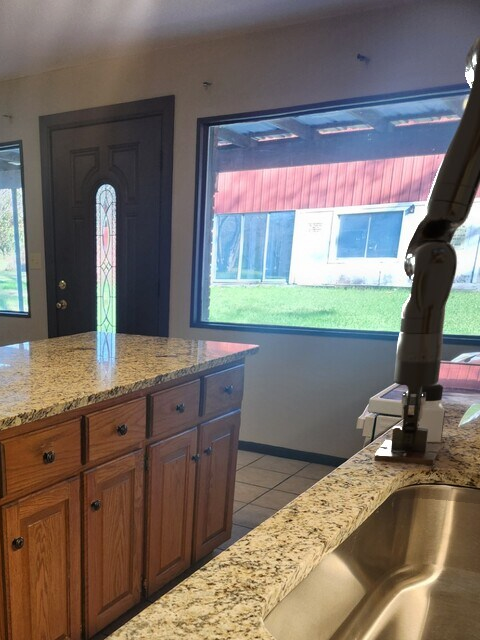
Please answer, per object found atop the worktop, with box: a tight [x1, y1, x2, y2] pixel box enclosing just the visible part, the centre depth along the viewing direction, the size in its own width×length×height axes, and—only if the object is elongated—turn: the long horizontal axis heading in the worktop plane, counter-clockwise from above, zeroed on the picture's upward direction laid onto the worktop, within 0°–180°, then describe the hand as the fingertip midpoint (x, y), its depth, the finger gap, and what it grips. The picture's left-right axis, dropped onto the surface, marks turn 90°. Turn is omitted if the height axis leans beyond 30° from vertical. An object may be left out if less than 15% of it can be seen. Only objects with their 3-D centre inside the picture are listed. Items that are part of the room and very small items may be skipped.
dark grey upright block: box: [391, 425, 428, 451], centre depth 130 cm, size 6×2×4 cm, turn 63°
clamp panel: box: [373, 439, 441, 467], centre depth 131 cm, size 10×12×3 cm
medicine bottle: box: [418, 382, 446, 443], centre depth 147 cm, size 7×7×12 cm
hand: (408, 449), depth 131 cm, fingers closed on dark grey upright block, 2 cm apart
